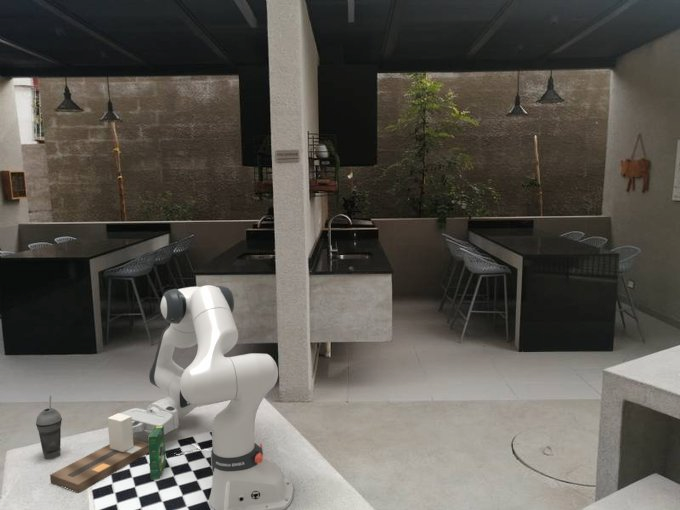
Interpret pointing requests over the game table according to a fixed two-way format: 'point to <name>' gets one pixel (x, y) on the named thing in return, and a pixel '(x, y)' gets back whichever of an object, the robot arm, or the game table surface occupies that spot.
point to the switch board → (97, 466)
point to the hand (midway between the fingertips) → (126, 431)
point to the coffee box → (157, 452)
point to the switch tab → (120, 432)
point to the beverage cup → (50, 432)
